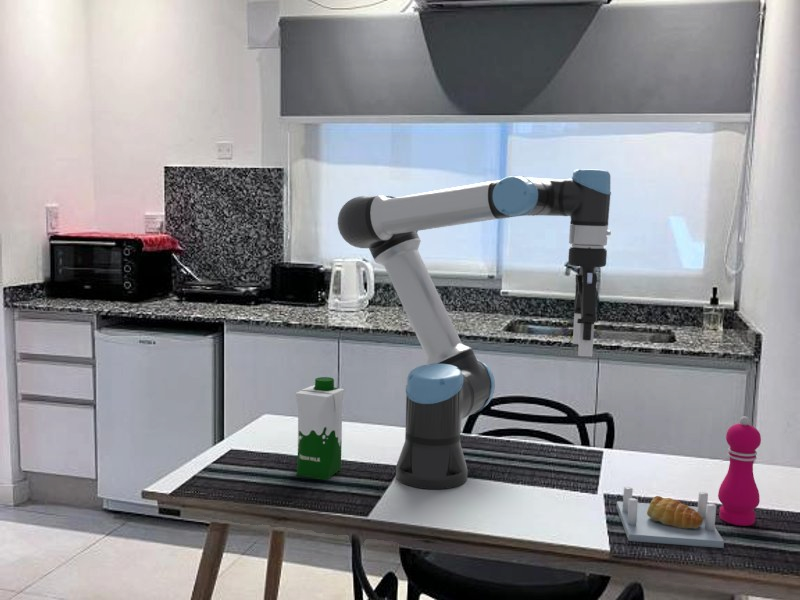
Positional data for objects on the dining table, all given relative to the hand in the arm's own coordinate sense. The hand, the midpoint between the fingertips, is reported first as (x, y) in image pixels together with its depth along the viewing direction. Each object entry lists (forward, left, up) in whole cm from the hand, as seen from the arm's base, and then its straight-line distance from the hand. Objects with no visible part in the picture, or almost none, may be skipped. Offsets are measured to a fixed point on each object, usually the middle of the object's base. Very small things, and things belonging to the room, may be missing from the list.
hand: (582, 349), depth 168 cm
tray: (+15, -20, -29) cm, 38 cm away
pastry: (+16, -20, -28) cm, 38 cm away
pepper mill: (+29, -14, -29) cm, 43 cm away
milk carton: (-54, -4, -29) cm, 61 cm away
